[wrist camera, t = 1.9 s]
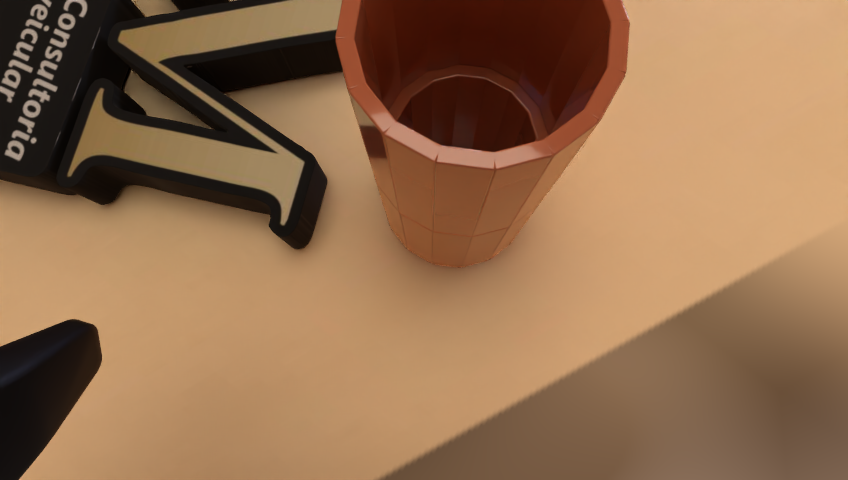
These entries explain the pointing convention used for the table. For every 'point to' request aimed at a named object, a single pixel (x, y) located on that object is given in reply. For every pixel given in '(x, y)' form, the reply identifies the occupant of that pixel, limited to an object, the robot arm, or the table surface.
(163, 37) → the decorative sign
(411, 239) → the terracotta tube
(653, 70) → the table surface
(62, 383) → the robot arm
